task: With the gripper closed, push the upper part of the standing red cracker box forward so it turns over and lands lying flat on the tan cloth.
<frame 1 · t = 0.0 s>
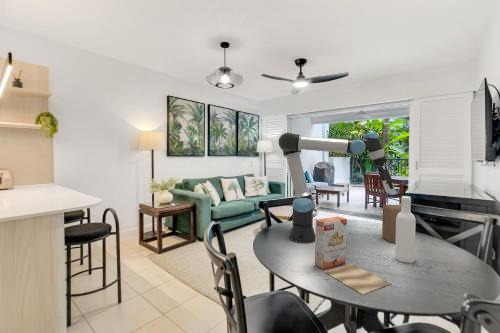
hand: (390, 192, 141), 28 cm above the table, tool tilted 20°, fingers open, 13 cm apart
bottle: (404, 259, 116), on the table
wooden block: (394, 240, 142), on the table
cracker box: (330, 264, 111), on the table
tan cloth: (356, 278, 99), on the table
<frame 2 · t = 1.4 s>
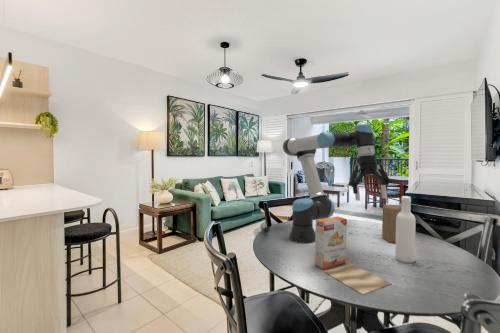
hand: (371, 199, 117), 28 cm above the table, tool pointing down, fingers open, 13 cm apart
nothing on the table moved.
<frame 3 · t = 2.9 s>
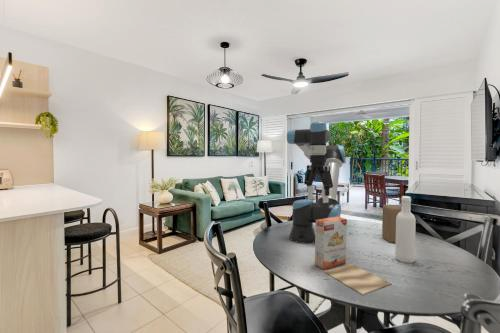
hand: (317, 200, 118), 28 cm above the table, tool pointing down, fingers open, 10 cm apart
nothing on the table moved.
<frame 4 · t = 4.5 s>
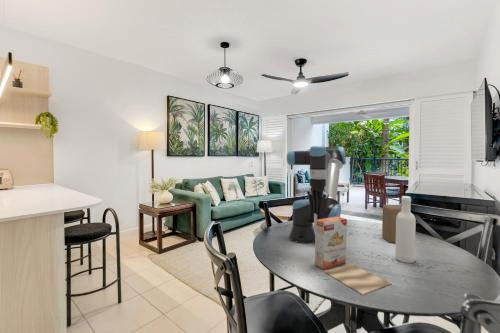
hand: (317, 226, 118), 15 cm above the table, tool pointing down, fingers closed
nothing on the table moved.
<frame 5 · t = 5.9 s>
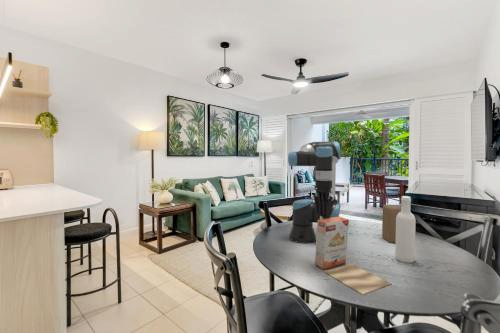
hand: (323, 229, 115), 15 cm above the table, tool pointing down, fingers closed
cracker box: (330, 264, 111), on the table, touching gripper
everything else where it was.
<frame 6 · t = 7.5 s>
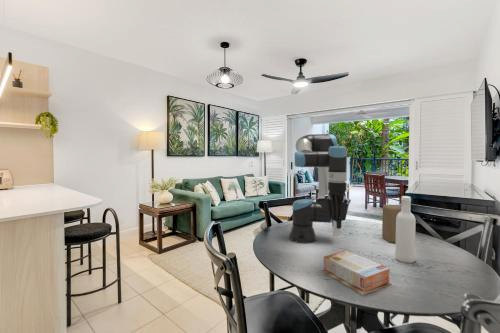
hand: (336, 235, 107), 15 cm above the table, tool pointing down, fingers closed
cracker box: (334, 259, 109), point 3 cm above the table, touching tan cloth
everything else where it was.
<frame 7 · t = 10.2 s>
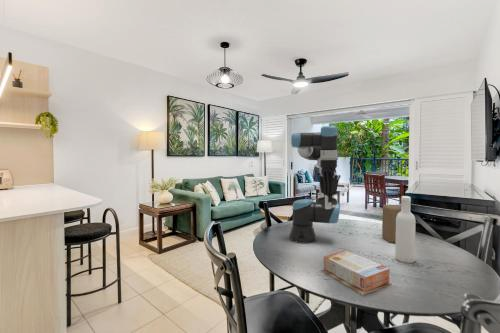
hand: (328, 208, 117), 24 cm above the table, tool pointing down, fingers closed
nothing on the table moved.
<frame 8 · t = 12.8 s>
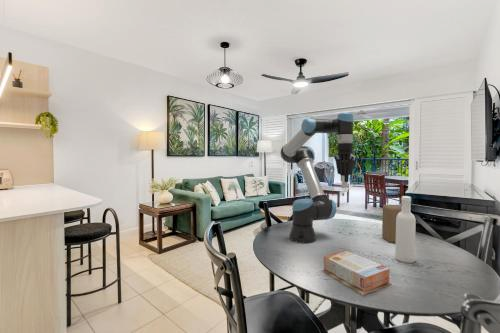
hand: (344, 187, 128), 32 cm above the table, tool pointing down, fingers closed
nothing on the table moved.
at the end: cracker box tilted 89°; cracker box inside the target area (9.6 cm from its centre), point 3.2 cm above the table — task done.
